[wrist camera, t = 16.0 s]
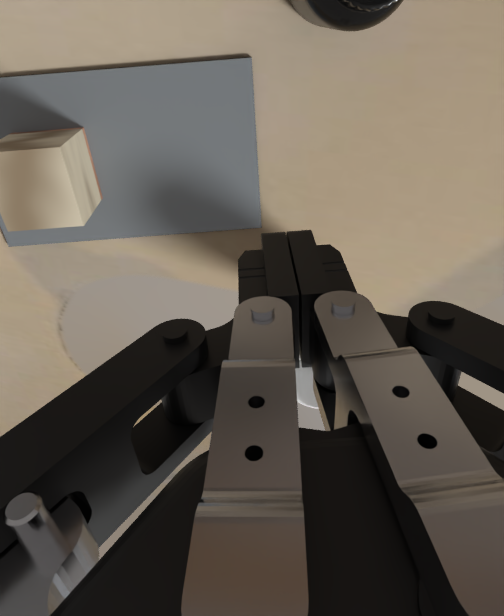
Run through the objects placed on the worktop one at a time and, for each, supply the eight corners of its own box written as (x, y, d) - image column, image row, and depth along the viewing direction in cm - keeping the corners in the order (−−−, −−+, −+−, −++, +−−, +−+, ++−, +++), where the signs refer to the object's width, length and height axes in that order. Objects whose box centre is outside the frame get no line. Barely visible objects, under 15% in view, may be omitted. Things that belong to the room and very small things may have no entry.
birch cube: (-25, 153, 31) (10, 133, 36) (7, 231, 35) (36, 203, 40) (59, 147, 31) (83, 127, 36) (84, 226, 35) (102, 198, 40)
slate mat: (251, 57, 34) (251, 57, 34) (261, 225, 42) (261, 227, 42) (-58, 82, 34) (-61, 82, 34) (10, 244, 42) (8, 246, 42)
